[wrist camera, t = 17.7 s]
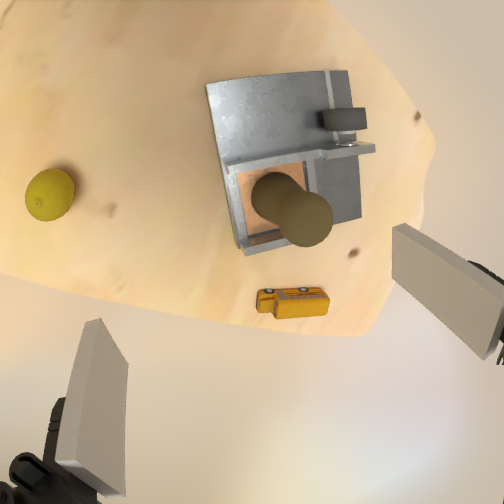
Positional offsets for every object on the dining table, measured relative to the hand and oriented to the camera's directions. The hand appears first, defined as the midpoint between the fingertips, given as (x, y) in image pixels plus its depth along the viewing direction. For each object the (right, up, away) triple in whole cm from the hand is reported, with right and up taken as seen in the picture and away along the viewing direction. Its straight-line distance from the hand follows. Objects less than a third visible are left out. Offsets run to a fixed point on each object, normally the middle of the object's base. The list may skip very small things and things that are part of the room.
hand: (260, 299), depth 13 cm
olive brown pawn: (+2, +9, +25) cm, 26 cm away
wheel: (+10, +18, +22) cm, 30 cm away
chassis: (+4, +14, +25) cm, 29 cm away
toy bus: (+5, -5, +33) cm, 34 cm away
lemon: (-23, +10, +19) cm, 32 cm away
